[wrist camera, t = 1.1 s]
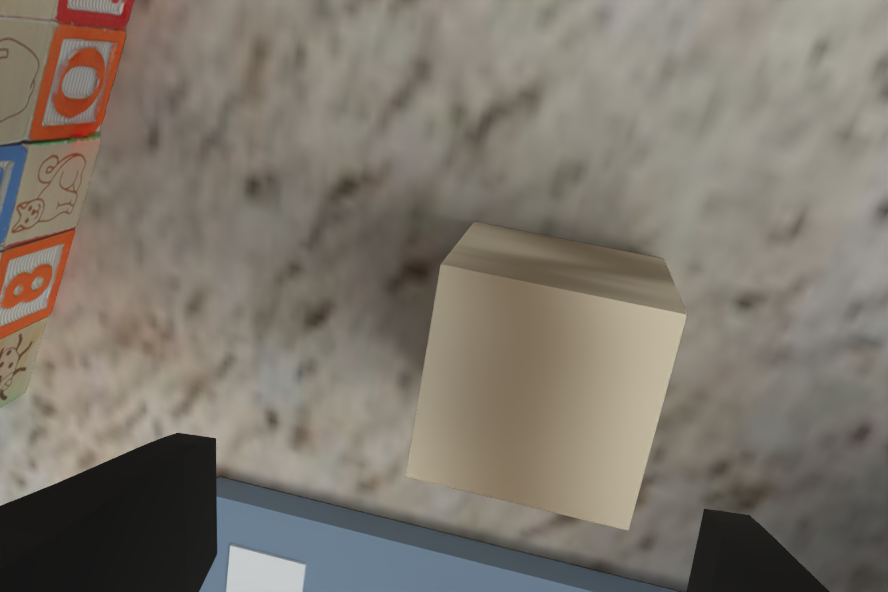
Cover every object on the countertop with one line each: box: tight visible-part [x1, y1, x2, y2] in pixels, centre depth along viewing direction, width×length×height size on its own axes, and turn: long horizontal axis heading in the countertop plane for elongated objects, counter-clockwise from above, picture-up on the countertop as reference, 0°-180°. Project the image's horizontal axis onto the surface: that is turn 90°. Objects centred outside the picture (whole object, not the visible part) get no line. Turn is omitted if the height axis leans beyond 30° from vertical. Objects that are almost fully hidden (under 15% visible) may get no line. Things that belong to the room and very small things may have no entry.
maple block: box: [405, 221, 687, 530], centre depth 18 cm, size 5×5×5 cm
